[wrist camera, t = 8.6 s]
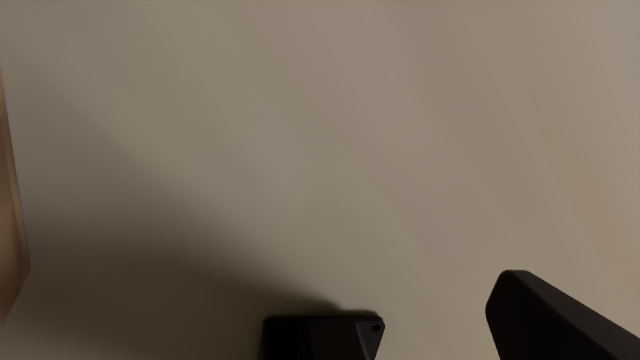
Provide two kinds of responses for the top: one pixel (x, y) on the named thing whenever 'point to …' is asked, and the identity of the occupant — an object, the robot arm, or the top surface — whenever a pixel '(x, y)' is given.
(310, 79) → the top surface
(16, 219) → the well block
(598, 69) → the top surface
